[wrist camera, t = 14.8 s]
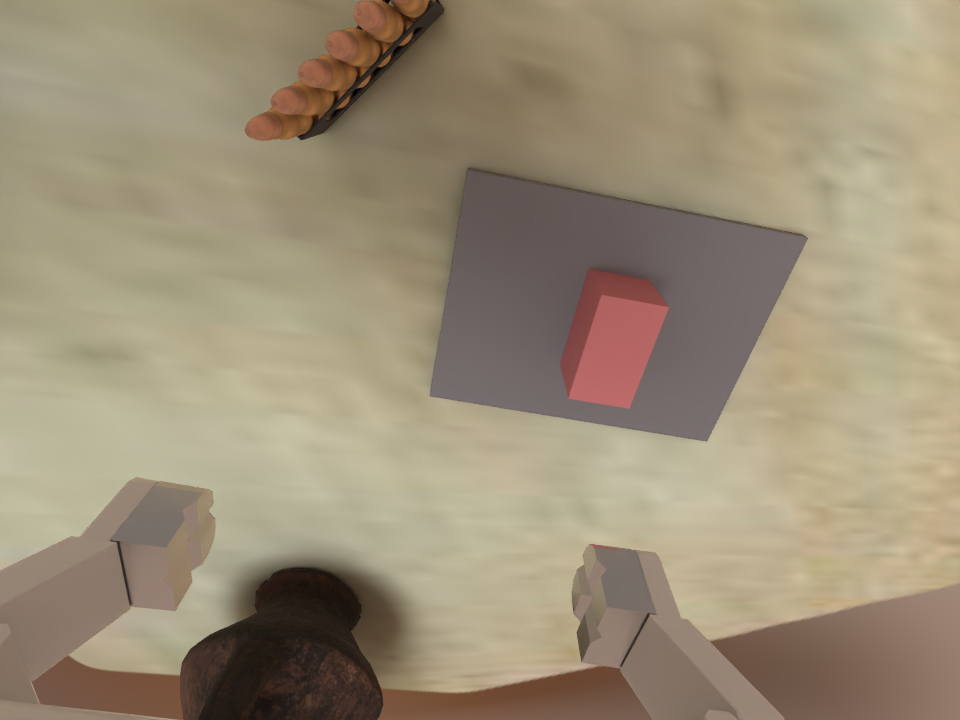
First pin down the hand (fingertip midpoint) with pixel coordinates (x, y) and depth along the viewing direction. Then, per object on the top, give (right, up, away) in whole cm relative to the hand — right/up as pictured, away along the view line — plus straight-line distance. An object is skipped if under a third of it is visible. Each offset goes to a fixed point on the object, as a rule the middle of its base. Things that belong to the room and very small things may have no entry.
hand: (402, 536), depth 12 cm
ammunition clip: (-5, +22, +21) cm, 31 cm away
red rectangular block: (+11, +7, +29) cm, 31 cm away
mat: (+11, +7, +29) cm, 32 cm away
